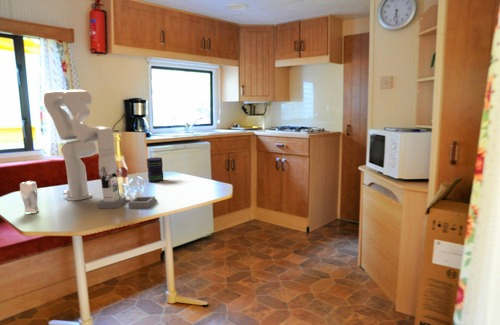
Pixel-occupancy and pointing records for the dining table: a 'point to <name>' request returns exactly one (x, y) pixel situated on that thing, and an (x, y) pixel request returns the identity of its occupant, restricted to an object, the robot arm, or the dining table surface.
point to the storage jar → (155, 170)
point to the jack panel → (129, 202)
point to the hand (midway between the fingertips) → (110, 185)
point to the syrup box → (111, 190)
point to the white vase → (29, 195)
